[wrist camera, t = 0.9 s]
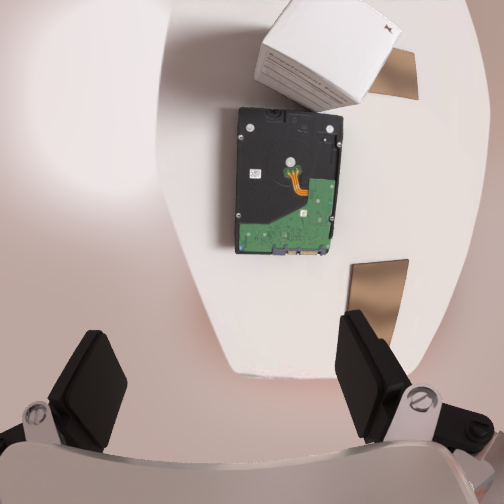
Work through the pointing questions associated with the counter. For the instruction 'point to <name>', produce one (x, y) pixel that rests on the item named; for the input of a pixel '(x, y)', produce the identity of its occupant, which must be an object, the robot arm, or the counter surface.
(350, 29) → the supplement box
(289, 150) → the disk drive
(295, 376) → the counter surface
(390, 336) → the flat brown wooden pieces
